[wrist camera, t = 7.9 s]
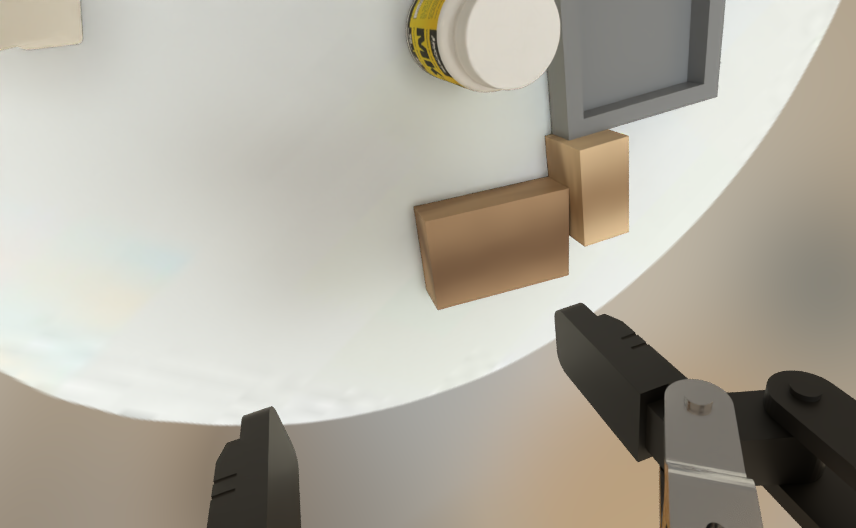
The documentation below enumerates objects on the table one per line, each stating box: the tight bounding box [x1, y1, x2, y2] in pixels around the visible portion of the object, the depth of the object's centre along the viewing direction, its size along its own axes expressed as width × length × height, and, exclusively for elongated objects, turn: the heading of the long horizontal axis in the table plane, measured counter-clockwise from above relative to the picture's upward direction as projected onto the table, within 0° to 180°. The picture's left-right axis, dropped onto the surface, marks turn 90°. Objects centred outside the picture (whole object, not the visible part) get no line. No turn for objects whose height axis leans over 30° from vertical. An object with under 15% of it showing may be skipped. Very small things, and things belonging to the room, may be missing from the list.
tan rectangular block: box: [545, 129, 629, 246], centre depth 30 cm, size 6×3×4 cm, turn 12°
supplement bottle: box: [406, 0, 560, 92], centre depth 22 cm, size 5×5×8 cm
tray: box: [547, 0, 725, 141], centre depth 27 cm, size 10×10×2 cm
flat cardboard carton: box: [414, 177, 569, 310], centre depth 31 cm, size 6×9×3 cm, turn 98°
